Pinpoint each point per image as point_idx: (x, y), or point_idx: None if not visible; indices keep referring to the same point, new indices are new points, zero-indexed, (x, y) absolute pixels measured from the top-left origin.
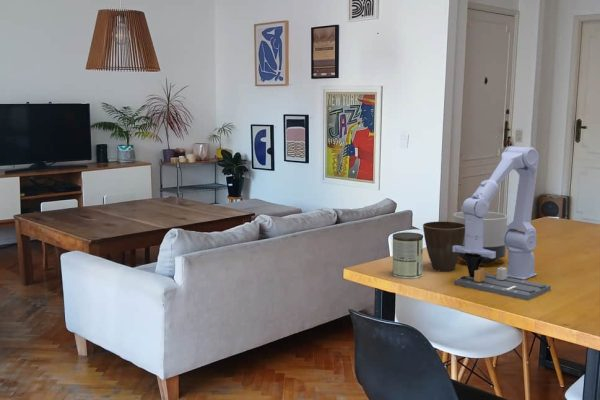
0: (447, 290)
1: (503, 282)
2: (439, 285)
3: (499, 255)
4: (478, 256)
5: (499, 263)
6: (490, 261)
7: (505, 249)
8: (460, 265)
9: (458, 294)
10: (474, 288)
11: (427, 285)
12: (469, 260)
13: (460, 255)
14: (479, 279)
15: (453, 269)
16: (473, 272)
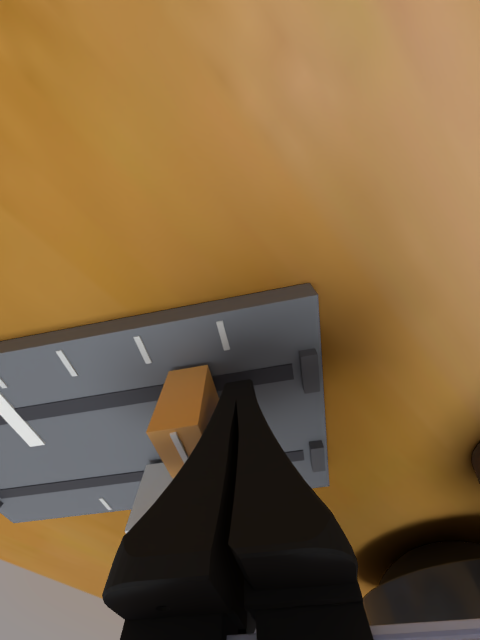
0: (238, 104)
1: (124, 451)
2: (379, 173)
3: (366, 615)
4: (136, 624)
5: (369, 572)
6: (387, 572)
7: None
8: (474, 508)
9: (93, 87)
10: (166, 310)
11: (467, 65)
12: (236, 507)
13: None
14: (166, 382)
15: (472, 461)
16: (216, 411)
